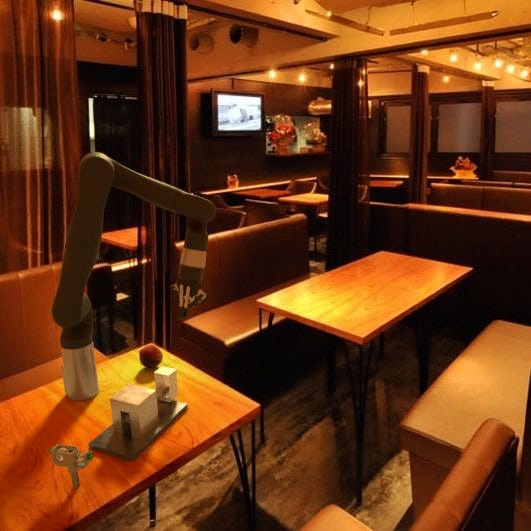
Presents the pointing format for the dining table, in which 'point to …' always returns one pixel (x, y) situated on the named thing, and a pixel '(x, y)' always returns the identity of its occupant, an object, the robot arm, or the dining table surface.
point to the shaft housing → (136, 422)
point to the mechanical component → (71, 460)
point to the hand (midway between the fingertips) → (183, 319)
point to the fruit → (150, 356)
